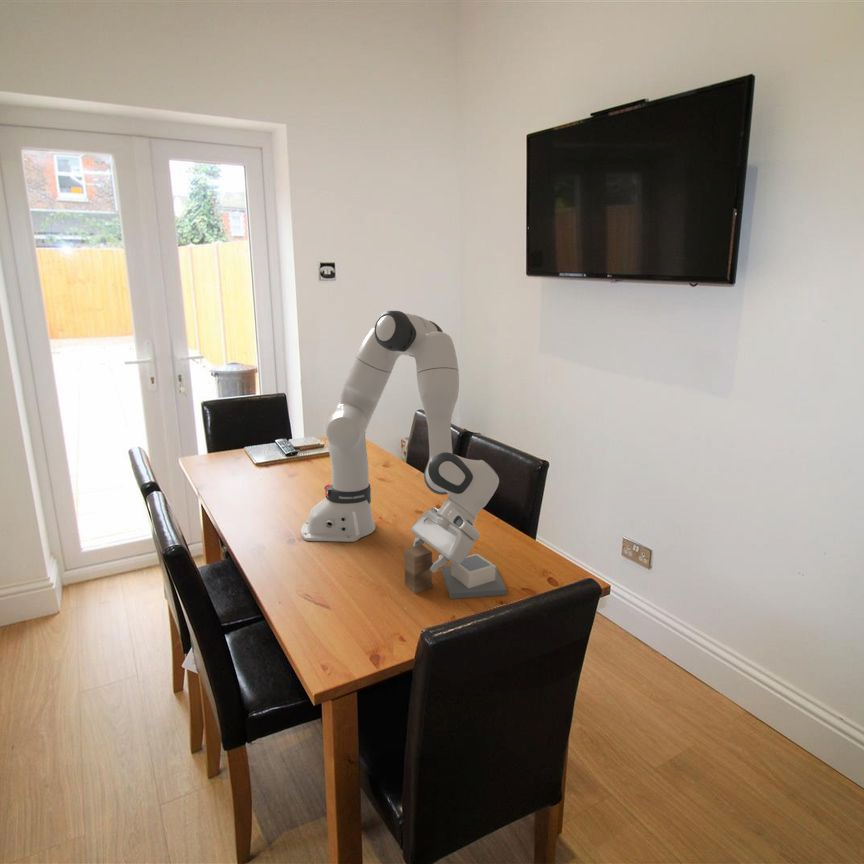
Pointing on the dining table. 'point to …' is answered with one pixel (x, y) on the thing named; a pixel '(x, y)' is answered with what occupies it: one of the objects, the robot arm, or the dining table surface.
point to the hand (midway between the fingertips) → (421, 562)
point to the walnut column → (418, 568)
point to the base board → (473, 591)
